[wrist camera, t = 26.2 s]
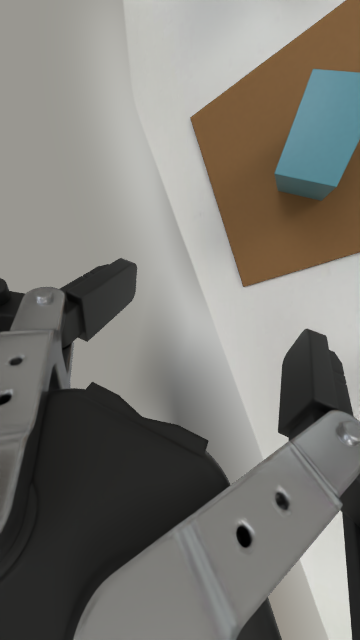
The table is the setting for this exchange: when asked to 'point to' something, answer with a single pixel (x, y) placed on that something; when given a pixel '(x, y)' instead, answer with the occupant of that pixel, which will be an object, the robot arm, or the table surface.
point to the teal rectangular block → (321, 135)
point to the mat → (265, 151)
